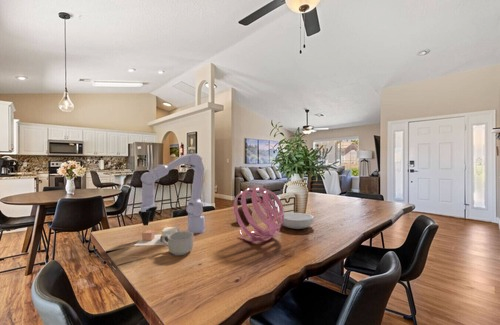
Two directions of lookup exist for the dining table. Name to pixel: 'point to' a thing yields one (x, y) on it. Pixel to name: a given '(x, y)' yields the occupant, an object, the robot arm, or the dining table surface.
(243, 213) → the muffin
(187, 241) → the teacup
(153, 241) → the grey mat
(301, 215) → the serving bowl
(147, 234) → the terracotta block
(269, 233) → the pink lattice sphere
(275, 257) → the dining table surface
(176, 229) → the cream block
